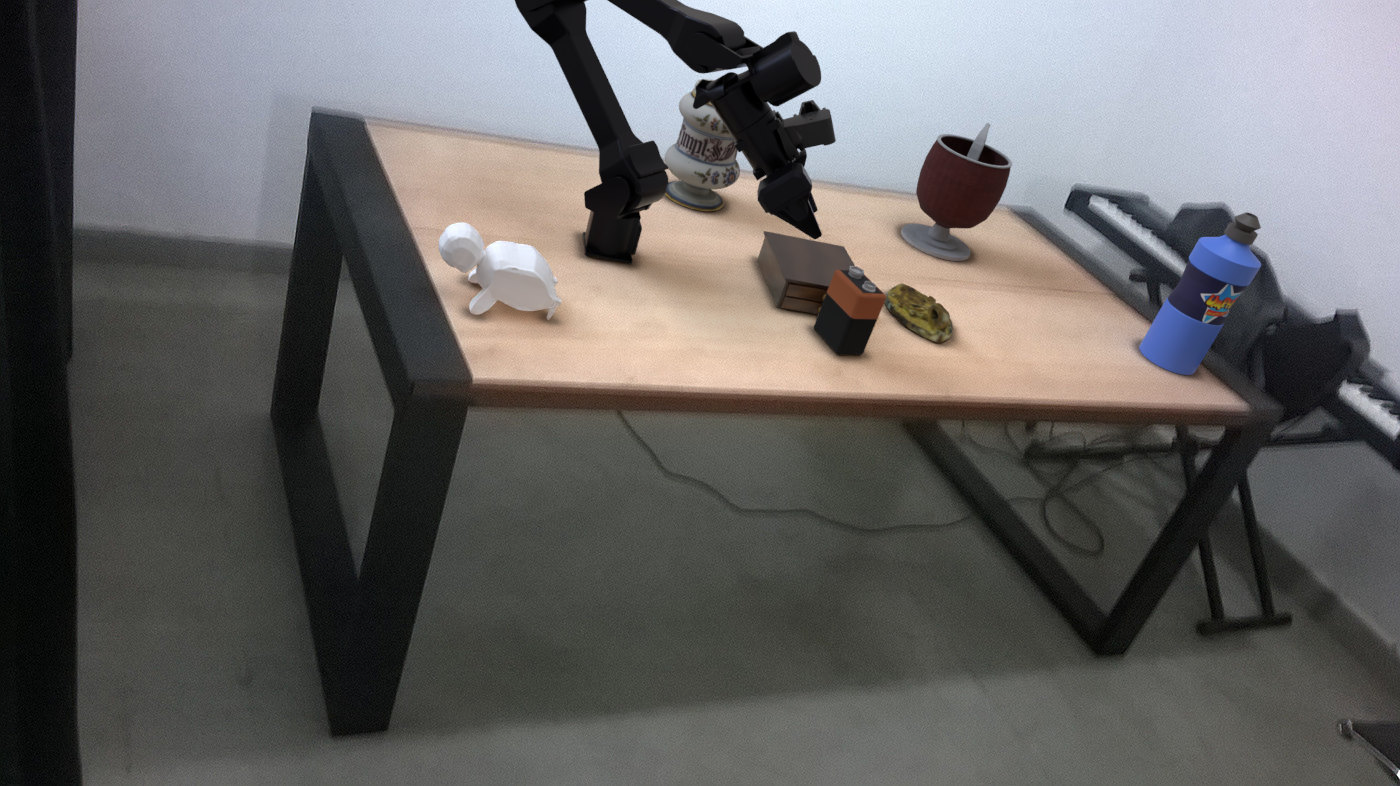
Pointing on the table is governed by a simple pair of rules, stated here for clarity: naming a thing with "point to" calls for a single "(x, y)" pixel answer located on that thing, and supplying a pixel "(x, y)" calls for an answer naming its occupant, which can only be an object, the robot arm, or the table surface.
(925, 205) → the mate gourd
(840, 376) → the table surface
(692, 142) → the apothecary jar
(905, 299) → the olive oval relief
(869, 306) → the battery
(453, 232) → the white turtle figurine
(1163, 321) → the water bottle
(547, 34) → the robot arm
